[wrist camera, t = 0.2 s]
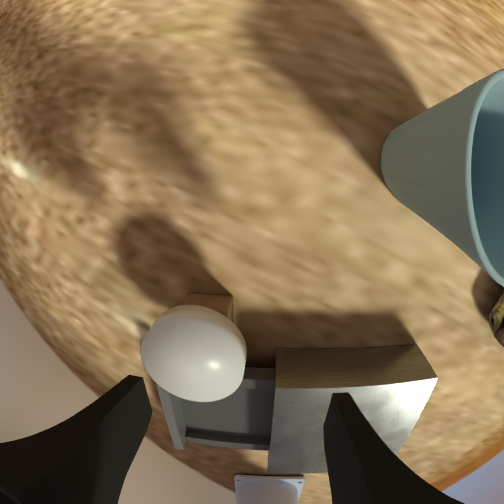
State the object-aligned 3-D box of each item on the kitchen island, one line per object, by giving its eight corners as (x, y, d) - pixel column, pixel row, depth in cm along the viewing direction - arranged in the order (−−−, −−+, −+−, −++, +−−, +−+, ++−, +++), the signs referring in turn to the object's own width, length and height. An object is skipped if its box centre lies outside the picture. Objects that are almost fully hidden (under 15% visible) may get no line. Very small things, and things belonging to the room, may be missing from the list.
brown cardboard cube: (233, 334, 20) (224, 370, 16) (191, 331, 20) (175, 365, 16) (232, 295, 19) (222, 328, 15) (188, 292, 19) (168, 323, 15)
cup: (340, 188, 16) (425, 227, 6) (389, 82, 14) (493, 23, 4) (432, 244, 17) (536, 317, 7) (475, 147, 15) (591, 158, 5)
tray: (291, 439, 22) (291, 459, 20) (181, 430, 23) (175, 448, 20) (302, 368, 19) (304, 391, 17) (165, 358, 20) (154, 378, 18)
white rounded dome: (246, 387, 16) (244, 406, 15) (159, 377, 17) (150, 394, 15) (246, 308, 15) (243, 324, 13) (144, 300, 15) (132, 314, 14)
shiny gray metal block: (381, 432, 22) (390, 464, 18) (269, 437, 23) (267, 473, 19) (417, 344, 19) (438, 377, 15) (276, 347, 20) (275, 388, 16)
